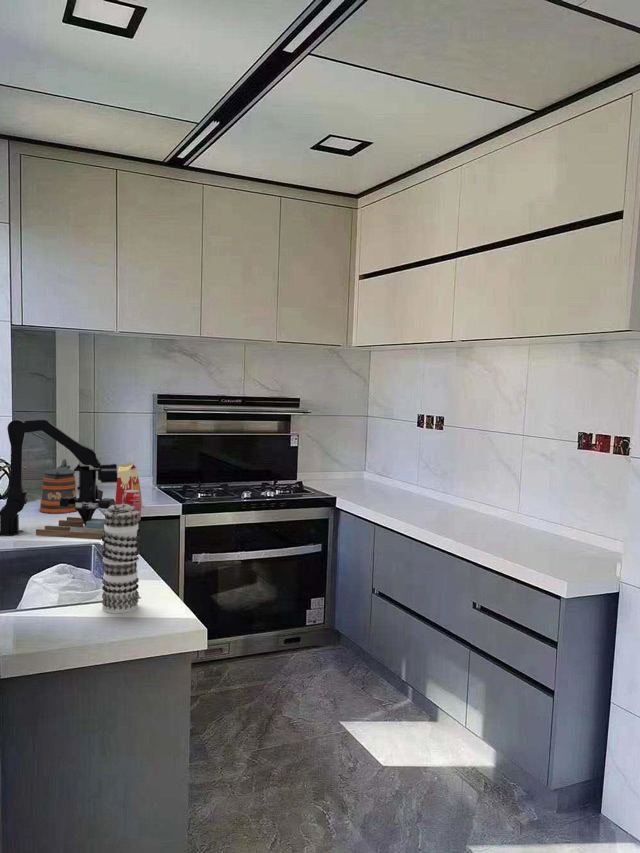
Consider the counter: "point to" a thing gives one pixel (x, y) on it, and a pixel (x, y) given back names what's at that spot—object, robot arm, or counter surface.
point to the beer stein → (58, 489)
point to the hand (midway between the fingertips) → (87, 526)
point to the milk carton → (126, 481)
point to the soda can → (133, 500)
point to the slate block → (95, 523)
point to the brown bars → (65, 531)
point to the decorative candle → (120, 559)
